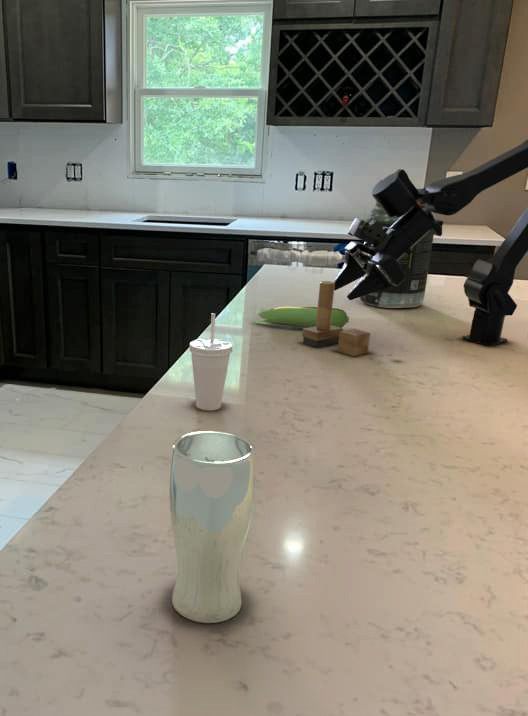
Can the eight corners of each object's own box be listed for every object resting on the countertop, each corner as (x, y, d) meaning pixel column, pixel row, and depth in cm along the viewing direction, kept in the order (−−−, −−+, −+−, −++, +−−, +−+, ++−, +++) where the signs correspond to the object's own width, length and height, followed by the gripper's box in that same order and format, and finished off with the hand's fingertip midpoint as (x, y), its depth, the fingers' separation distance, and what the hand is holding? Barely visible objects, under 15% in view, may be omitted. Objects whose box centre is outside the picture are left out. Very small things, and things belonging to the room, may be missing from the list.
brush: (325, 338, 149) (332, 279, 144) (340, 342, 146) (347, 282, 141) (301, 343, 145) (307, 282, 140) (316, 347, 142) (322, 285, 137)
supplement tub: (430, 301, 184) (447, 193, 173) (412, 313, 172) (430, 197, 161) (368, 294, 191) (381, 189, 181) (348, 304, 179) (361, 193, 169)
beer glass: (164, 581, 67) (166, 430, 61) (238, 579, 68) (248, 429, 62) (170, 628, 61) (174, 465, 55) (253, 625, 61) (265, 463, 55)
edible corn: (346, 334, 152) (348, 313, 150) (251, 326, 157) (252, 305, 155) (347, 328, 156) (350, 307, 155) (255, 321, 161) (256, 300, 160)
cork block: (351, 348, 142) (353, 328, 140) (367, 353, 139) (370, 332, 138) (337, 351, 140) (339, 331, 138) (353, 356, 137) (356, 335, 135)
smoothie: (234, 402, 112) (239, 311, 107) (223, 416, 107) (228, 321, 101) (194, 396, 114) (197, 308, 109) (181, 410, 109) (184, 317, 103)
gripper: (360, 199, 144) (300, 255, 147) (398, 208, 127) (330, 272, 130) (392, 240, 148) (334, 294, 151) (434, 254, 131) (367, 315, 134)
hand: (340, 293), depth 142 cm, fingers open, 9 cm apart
